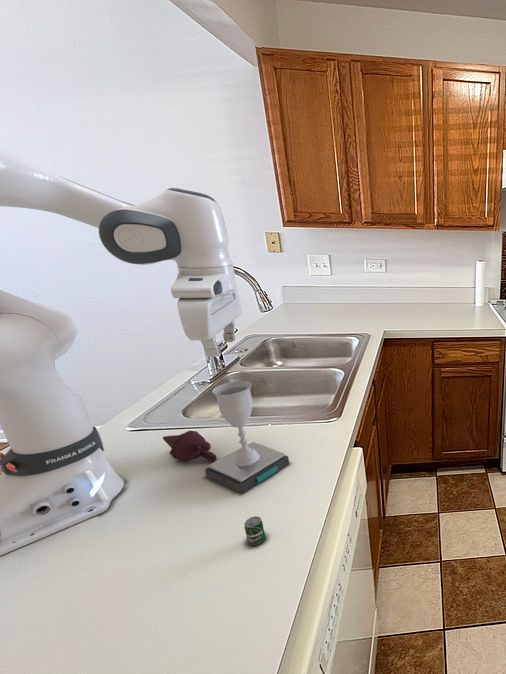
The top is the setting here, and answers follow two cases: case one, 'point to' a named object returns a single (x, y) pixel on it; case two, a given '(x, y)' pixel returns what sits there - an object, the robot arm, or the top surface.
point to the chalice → (237, 414)
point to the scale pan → (242, 473)
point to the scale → (250, 481)
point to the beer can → (254, 530)
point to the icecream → (189, 446)
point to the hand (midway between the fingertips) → (222, 348)
